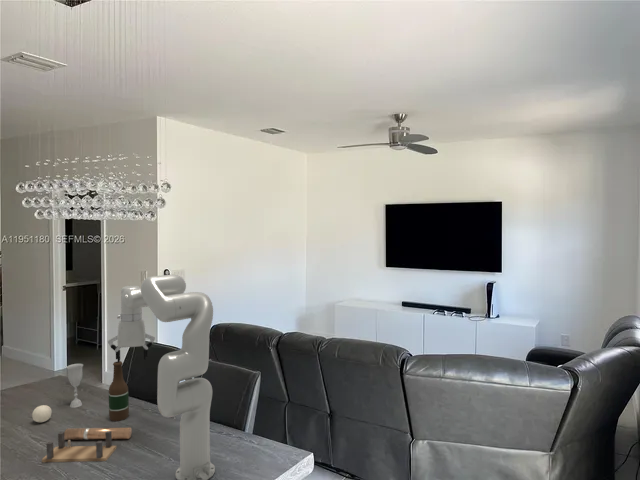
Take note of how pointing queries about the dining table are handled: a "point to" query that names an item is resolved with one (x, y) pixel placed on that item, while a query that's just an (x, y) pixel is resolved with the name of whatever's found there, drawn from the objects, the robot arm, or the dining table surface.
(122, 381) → the beer bottle
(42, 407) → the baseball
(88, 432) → the tube
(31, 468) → the dining table surface
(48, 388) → the dining table surface
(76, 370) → the chalice
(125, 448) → the dining table surface
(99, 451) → the base
